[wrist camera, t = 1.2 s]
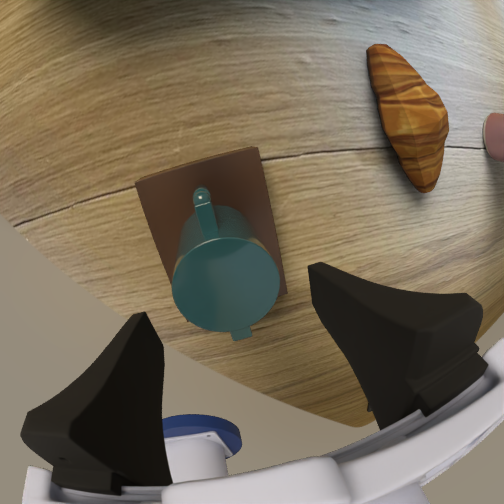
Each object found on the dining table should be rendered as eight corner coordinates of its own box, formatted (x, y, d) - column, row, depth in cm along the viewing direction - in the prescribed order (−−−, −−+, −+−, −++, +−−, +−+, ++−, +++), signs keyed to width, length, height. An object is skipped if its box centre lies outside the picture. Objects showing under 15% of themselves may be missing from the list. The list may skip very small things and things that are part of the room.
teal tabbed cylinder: (195, 295, 20) (197, 352, 14) (159, 191, 16) (141, 217, 11) (265, 275, 20) (289, 326, 15) (240, 168, 17) (260, 183, 11)
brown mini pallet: (187, 307, 22) (187, 322, 20) (140, 177, 18) (134, 182, 16) (280, 281, 23) (287, 293, 21) (252, 146, 18) (257, 147, 16)
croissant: (439, 174, 22) (476, 185, 17) (393, 203, 22) (431, 220, 18) (393, 41, 16) (431, 30, 12) (335, 55, 16) (371, 39, 12)
